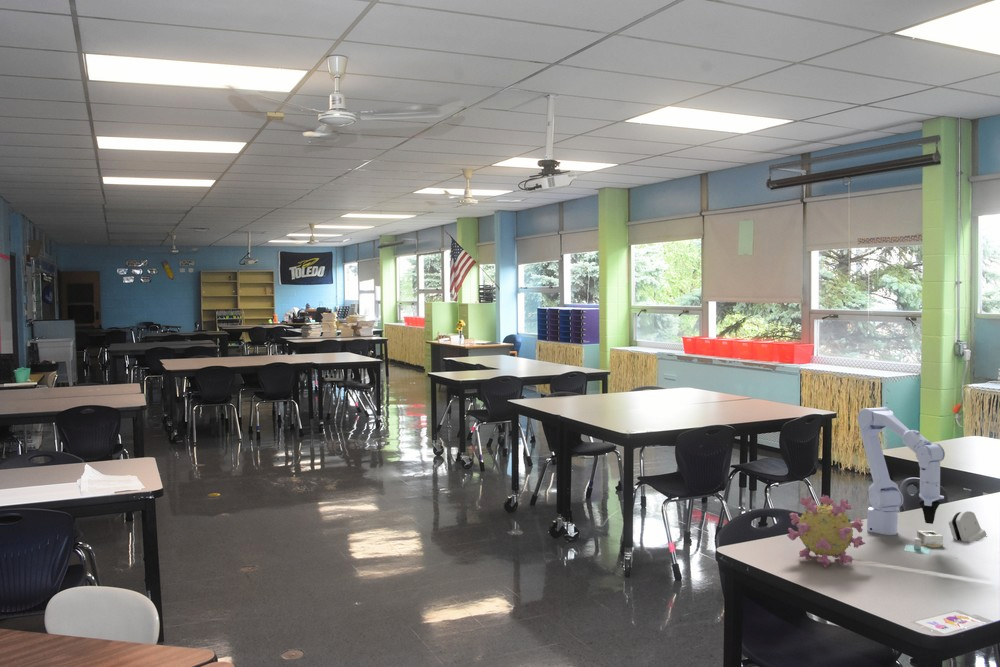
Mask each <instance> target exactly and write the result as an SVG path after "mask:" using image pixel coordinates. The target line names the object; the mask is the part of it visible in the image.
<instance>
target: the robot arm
mask: <svg viewBox="0 0 1000 667" xmlns="http://www.w3.org/2000/svg"><path fill="white" fill-rule="evenodd" d="M856 419H857V423H858V427H859V432H860V437H861V441H862V444H863V448H864V452H865V456H866V459H867V463H868V467H869V471H870V474H871V477H872V483H871V485H870V486H869V487H868V493H869V494H868V495H869V496H868V500H869V503H870V505H871V506H869V507H868V508H867V512H866V514H867V515H866V516H867V518H866V531H867V532H868V533H876V534H881V535H887V536H889V535H890V536H891V535H892V536H893V535H895V536H896V535H897V534H898V520H899V519H898V516H899V515H898V510H900V507H902V505H903V504H904V496H903V493H902V492H901V491H900V489H899V485H898V484H897V483H896V482H894V480H891V478H890V473H889V470H888V465H887V462H886V459H885V456H884V453H883V448H882V444H881V441H880V437H879V435H880V433H881V432H882V431H883V430H884V429H885V428H888V429H889V430H891V431H892V432H893V433H894V434H896V435H898V436H899V437H900V438H901V441H902V443H903V445H905V446H906V447H907V448H909V449H910V450H911V451H912V452H913V453H914V454H915V457H916V460H917V461H918V466H919V493H918V497H919V498H920V500H919V505H920V507H921V509H922V512H923V518H924V522H925V524H929V525H930V524H931V525H933V524H934V522H935V517H936V513H937V510H938V508H939V506H940V503H941V500H944V499H945V496H944V495H941V462H942V461H943V460H944V459H945V457H946V454H945V453H946V452H945V449H944V447H943V446H942V445H941V444H940V443H933V442H931V440H929V439H927V438H926V437H924V436H923V435H922V434H920V433H921V432H920V431H919V430H916V429H911V430H910V429H909V428H908V427H907V426H906V425H905V424H903V423H902V421H900V420H899V419H898V418H897V417H896V416H895V413H894V411H892V410H890V409H889V408H888V407H887V406H880V407H869V408H868V407H863V408H861V409H860V410H859V412H858V413H857V416H856Z"/></svg>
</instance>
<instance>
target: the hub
mask: <svg viewBox="0 0 1000 667" xmlns="http://www.w3.org/2000/svg"><path fill="white" fill-rule="evenodd" d="M927 535H933V534H927ZM921 546H923V547H924V546H926V547H929V548H930V547H931V548H941V547H943V545H925V544H923V543H922V542H921Z"/></svg>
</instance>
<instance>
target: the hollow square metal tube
mask: <svg viewBox="0 0 1000 667" xmlns="http://www.w3.org/2000/svg"><path fill="white" fill-rule="evenodd" d="M927 534H933V535H927ZM916 538H920V539H921V542H922V543H923V544H925V545H942V546H943V545H944V535H943V534H940V533H939V532H937V531H936V530H916Z"/></svg>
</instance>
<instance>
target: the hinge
mask: <svg viewBox="0 0 1000 667" xmlns="http://www.w3.org/2000/svg"><path fill="white" fill-rule="evenodd" d="M948 526H949V528H950V532H951V535H952V539H953V540H956V541H960V542H964V543H966V542H968V543H972V542H977V541H980V540H981V539H982V538H986V537H987V536H988V535H987V532H986V530H985V529H983V528H981V526H980V523H979V521H978V518H977V516H976V514H975V512H973V511H970V510H969V511H968V510H967V511H966V510H964V511H958V512H956V513H954V514H952V515H951V516H950V518H949V520H948ZM986 535H987V536H986ZM985 536H986V537H985Z"/></svg>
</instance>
